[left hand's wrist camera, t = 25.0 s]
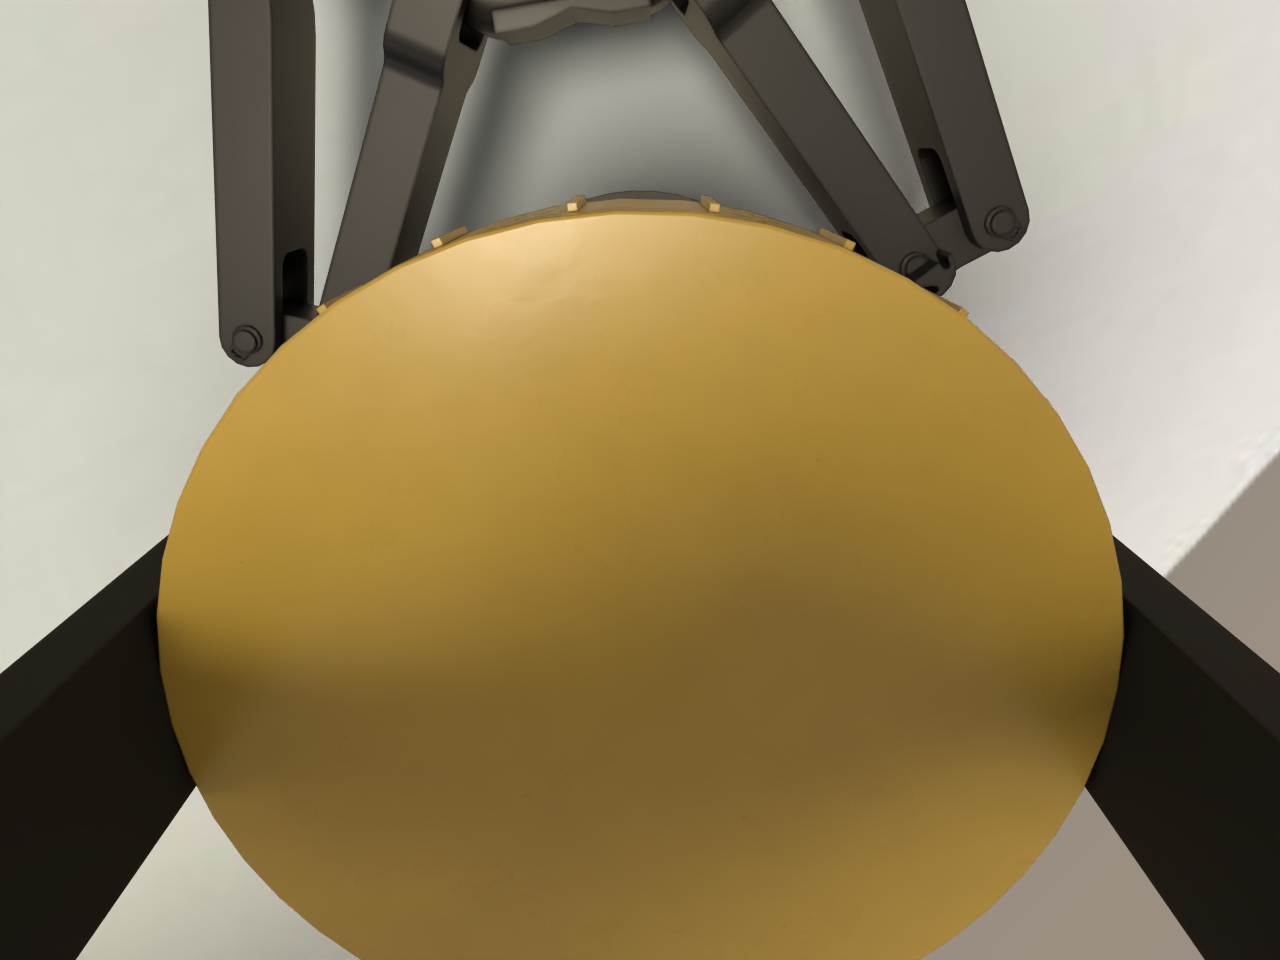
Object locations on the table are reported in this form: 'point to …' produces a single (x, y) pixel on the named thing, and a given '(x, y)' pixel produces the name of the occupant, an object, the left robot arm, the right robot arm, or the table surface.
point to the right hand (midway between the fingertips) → (665, 578)
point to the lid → (640, 602)
